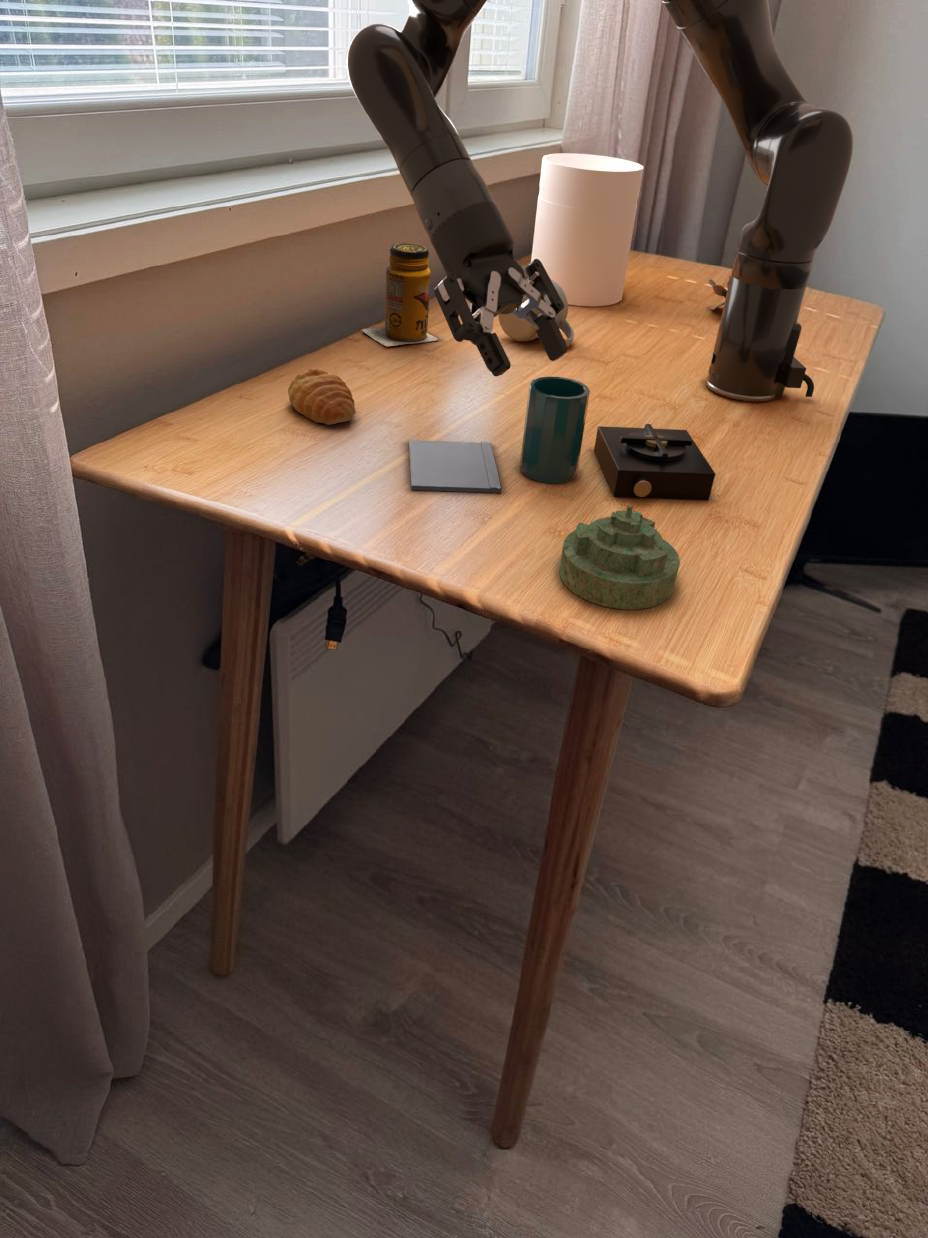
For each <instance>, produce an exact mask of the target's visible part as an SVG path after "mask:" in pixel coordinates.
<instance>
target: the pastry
mask: <svg viewBox="0 0 928 1238" xmlns="http://www.w3.org/2000/svg"><path fill="white" fill-rule="evenodd" d="M287 393H288V399H289V402H290V404H291V406H292V407H293V409H294V410H295V411H297V412H298V413H299V414H302V415H303V416H304V417H306V419H310V421H313V422H315V423H321V424H325V425H328V426H330V425H335V424H337V423H343V422H344V423H345V422H349V421H352V419H353V417H354V416H355V414H356V407H355V399H354V398H353V394H352V391H351V389H350V388H349V387H348V385H347V383H346V382H345V381H343V379H342V378H341V377H339V376H338V375H334V374H329V371H326V370H324V369H319V368H309V369H307V370H306V369H305V371H303V372H302V373H298V374H297V375H296V376H295V377H294V378H293V379H292V381H291V382H290V384H289V386H288V390H287Z"/></svg>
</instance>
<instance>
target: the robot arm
mask: <svg viewBox="0 0 928 1238" xmlns="http://www.w3.org/2000/svg"><path fill="white" fill-rule="evenodd" d="M488 1H489V0H407V3H408V5H409V13H408V15H407V16H408V17H407V19H406V21H405V23H404V26H403V27H402V29H401V31H400V30H399V29H397V28H395V27H394V26H392V25H388V24H384V23H374V24H370V25H367V26H365V27H363V28H362V29H361V30H359V31H357V33H356V34H355V35H354V37H353V39H352V40H351V42H350V44H349V47H348V51H347V55H346V70H347V77H348V80H349V84H350V86H351V88H352V90H353V93H354V96H355V97H356V98H357V100H358V103H359V104H360V106H361V107H362V110H363V111H364V112H365V114H366V115H367V117H368V119H369V121H370V122H371V123H372V125H373V127H374V128H375V129H376V132H377V133H378V134H379V136H380V138H381V139H382V140H383V142H384V143H385V145H386V146H387V148H388V150H389V151H390V153H391V156H392V158H393V160H394V162H395V164H396V167H397V169H398V172H399V174H400V176H401V178H402V180H403V182H404V184H405V187H406V188H407V191H408V193H409V195H410V196H411V198H412V200H413V203H414V206H415V209H416V211H417V212H416V213H417V215H418V218H419V220H420V222H421V224H422V226H423V228H424V231H425V233H426V235H427V237H428V239H429V241H430V243H431V245H432V247H433V249H434V251H435V253H436V256H437V257H438V259H439V261H440V263H441V266H442V267H443V270H444V271H445V273H446V276H445V277H444V278H443V279H442V280H440V282H439V283H438V284H437V285H436V287H435V288H434V289H433V293H434V297H435V298H436V300H437V303H438V305H439V308H440V310H441V312H442V314H443V317H444V319H445V322H446V324H447V326H448V327H449V330H450V332H451V335H452V337H453V338H454V340H455V341H456V342H457V343H462V342H463V341H469V342H470V343H471V344H472V345H474V346H476V349H477V351H478V352H479V354H480V356H481V358H482V360H483V362H484V365H485V367H486V368H487V370H488V371H489V372H490V373H491V374H492V376H494V377H500V376H502V375H504V374H505V373H506V372H508V371H509V370H510V369H511V366H512V365H511V364H512V363H511V361H510V359H509V357H508V354H507V353H506V350H505V349H504V347H503V345H502V343H501V341H500V339H499V337H498V334H497V332H493V327H494V318H495V317H497V316H498V315H499V314H505V315H506V314H510V313H512V314H513V315H515V316H516V317H517V318H519V319H522V318H524V319H525V320H527V321H528V322H529V323H530V324H531V325H533V326H534V327H535V328H536V329H538V330H536V333H537V335H538V337H539V338H538V339H539V342H540V343H541V345H542V348H543V349H544V351H545V353H546V355H547V358H548V359H549V361H551V362H555V361H558V360H559V359H560V358H562V357H563V356H564V355H566V354H567V353H568V352H567V351H568V347H566V342H565V340H566V339H565V338H564V336H563V334H562V332H561V329H560V328H558V326H557V324H556V322H555V316H556V315H557V314H558V313H559V312H560V311H561V310H563V309H564V303H563V302H562V300H561V298H560V296H559V294H558V292H557V290H556V289H555V287H554V285H553V283H552V281H551V279H550V277H549V276H548V274H547V272H546V270H545V268H544V266H543V264H542V263H541V261H540V260H538V259H534V260H533V261H532V262H531V261H530V263H528V264H527V265H522V266H521V265H520V263H519V262H518V261H517V260H516V259H515V257H514V252H513V251H514V246H515V242H514V239H513V235H512V233H511V232H510V230H509V227H508V225H507V223H506V221H505V219H504V217H503V215H502V213H501V211H500V209H499V207H498V205H497V203H496V202H495V199H494V197H493V195H492V193H491V191H490V189H489V187H488V184H487V183H486V181H485V179H484V177H483V176H482V175H481V173H480V172H479V171H478V169H477V168H476V166H475V164H474V162H473V161H472V158H471V156H470V154H469V151H468V150H467V148H466V146H465V144H464V142H463V139H462V137H461V136H460V134H459V132H458V130H457V128H456V127H455V126H454V124H453V122H452V120H450V118H449V116H447V115H446V114H445V112H444V111H443V110H442V108H441V107H440V106H439V103H438V102H437V100H436V98H437V97H438V95H439V92H441V89H442V87H443V85H444V83H445V80H446V79H447V76H448V74H449V72H450V69H451V67H452V65H453V62H454V61H455V58H456V56H457V55H458V51H459V49H460V45H461V43H462V40H463V39H464V36H465V33H466V32H467V30H468V29H469V27H471V25H472V24H473V22H474V21H475V20H476V18H477V17H478V15H479V14H480V12H481V11H482V10H483V8H484V6H485V5H486V4H487V2H488ZM661 2H662V4H663V5H664V7H665V9H666V11H667V13H668V14H669V16H670V18H671V19H672V21H673V23H674V25H675V26H676V29H677V30H678V32H679V33H680V35H681V36H682V38H683V40H684V41H685V43H686V44H687V46H688V48H689V49H690V51H691V53H692V54H693V57H694V59H696V61H697V63H698V64H699V66H700V68H701V70H702V71H703V72H704V74H705V76H706V77H707V78H708V80H709V81H710V83H711V84H712V86H713V87H714V89H715V91H716V92H717V93H718V95H719V97H720V99H721V100H722V102H723V104H724V106H725V109H726V111H727V113H728V114H729V117H730V119H731V121H732V124H733V126H734V129H735V131H736V133H737V136H738V138H739V140H740V143H741V146H742V148H743V151H744V153H745V156H746V158H747V160H748V162H749V165H750V167H751V169H752V171H753V172H754V174H755V176H756V177H757V178H758V179H759V180H760V181H761V182H762V183H764V185H766V186H767V187H766V191H765V195H764V199H763V202H762V205H761V208H760V211H759V213H758V214H757V217H756V218H755V219H754V220H751V221H749V222H747V223H745V225H744V226H743V227H742V228H741V231H740V235H739V238H738V243H737V248H736V250H735V251H736V252H735V256H734V261H733V263H732V269H731V274H730V282H729V286H728V288H727V289H726V290H727V295H726V298H724V301H725V303H724V305H723V309H722V313H721V316H720V321H719V324H718V325H719V326H718V330H717V334H716V337H715V343H714V348H712V350H711V353H710V365H709V367H708V373H707V376H706V380H705V386H706V387H707V388H708V389H709V390H710V391H712V392H714V393H716V394H717V395H720V396H723V397H725V398H729V399H733V400H737V401H744V402H754V403H755V402H758V403H759V402H768V401H771V400H775V399H778V400H779V399H783V396H784V393H785V389H786V388H788V389H801V388H802V384H803V382H804V383H805V384H806V388H807V389H806V392H805V398H813V394H814V391H815V384H814V381H813V379H812V378H811V377H810V376H809V374H806V371H807V368H806V367H805V365H804V364H803V363H802V362H801V361H799V359H797V358H796V357H795V354H796V350H797V346H798V343H799V340H800V336H801V332H802V325H801V324H800V323H799V322H798V319H799V316H800V315H799V314H800V311H801V307H802V304H803V300H804V297H805V293H806V289H807V286H808V282H809V279H810V275H811V271H812V268H813V264H814V261H815V258H816V254H817V252H818V251H817V250H818V248H819V246H820V245H821V243H822V242H823V241H824V239H825V238H826V236H827V235H828V233H829V231H830V229H831V227H832V222H833V220H834V217H835V215H836V211H837V208H838V206H839V202H840V199H841V196H842V192H843V190H844V186H845V184H846V180H847V177H848V175H849V170H850V167H851V163H852V157H853V150H854V135H853V130H852V128H851V124H850V123H849V121H848V120H847V119H846V118H845V116H843V115H842V114H841V113H839V112H837V111H836V110H833V109H830V108H827V107H823V106H819V105H815V104H811V103H810V102H809V101H808V100H807V99H806V98H805V96H804V95H803V94H802V92H801V91H800V90H799V88H798V87H797V85H796V83H795V82H794V80H793V79H792V77H791V75H790V73H789V72H788V70H787V68H786V67H785V64H784V63H783V61H782V59H781V57H780V54H779V51H778V49H777V45H776V42H775V39H774V32H773V26H772V19H771V11H770V4H769V0H661ZM524 295H525V296H526V297H527V298H528V299H527V300H526V301H525V302H524V303H523V304H522V301H523V297H524ZM545 295H547V296H548V298H549V300H550V302H551V304H550V305H548V304H547V303H546V301H545V299H544V297H545ZM468 303H469V304H468ZM532 309H536V310H538V311H539V312H540V314H539V315H537V314H536V313H534V312H533V311H532ZM460 320H461V321H460Z"/></svg>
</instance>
